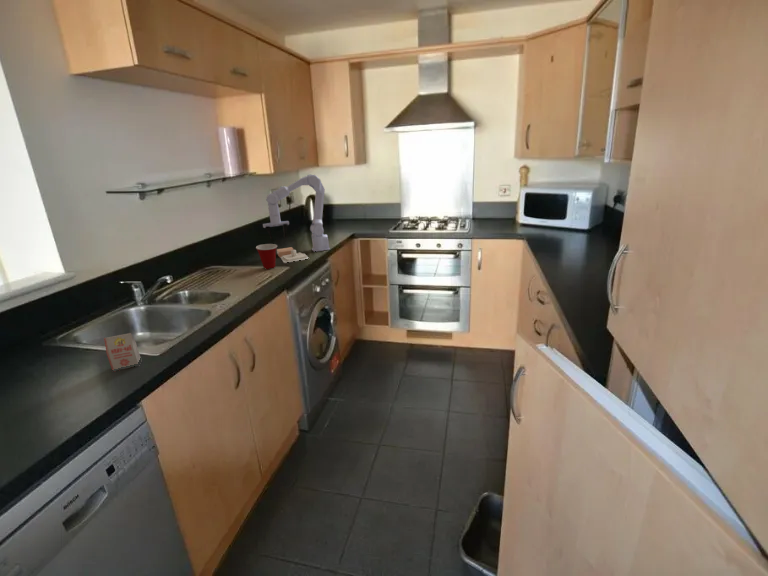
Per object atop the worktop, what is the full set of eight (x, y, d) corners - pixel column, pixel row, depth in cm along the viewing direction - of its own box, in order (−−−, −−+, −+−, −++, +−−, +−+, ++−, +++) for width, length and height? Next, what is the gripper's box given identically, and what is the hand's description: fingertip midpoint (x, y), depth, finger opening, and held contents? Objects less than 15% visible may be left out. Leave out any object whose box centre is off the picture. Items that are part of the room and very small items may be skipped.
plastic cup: (273, 271, 205) (269, 248, 202) (255, 270, 209) (251, 248, 205) (284, 265, 215) (281, 243, 211) (267, 264, 219) (263, 243, 215)
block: (292, 251, 244) (291, 247, 243) (294, 254, 236) (294, 250, 235) (277, 254, 241) (276, 249, 240) (279, 257, 233) (278, 252, 232)
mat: (304, 254, 236) (304, 253, 236) (309, 259, 224) (309, 258, 223) (280, 257, 231) (280, 257, 231) (284, 263, 219) (284, 262, 219)
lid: (300, 254, 235) (299, 247, 234) (306, 257, 226) (305, 250, 224) (282, 257, 230) (281, 250, 229) (287, 261, 221) (286, 253, 219)
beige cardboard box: (116, 365, 119) (105, 335, 116) (141, 360, 121) (132, 330, 118) (112, 371, 116) (102, 340, 112) (138, 366, 118) (129, 335, 114)
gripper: (286, 212, 234) (289, 235, 239) (260, 215, 230) (264, 238, 234) (288, 214, 228) (291, 237, 232) (262, 217, 223) (266, 241, 228)
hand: (278, 238), depth 233 cm, fingers open, 7 cm apart
